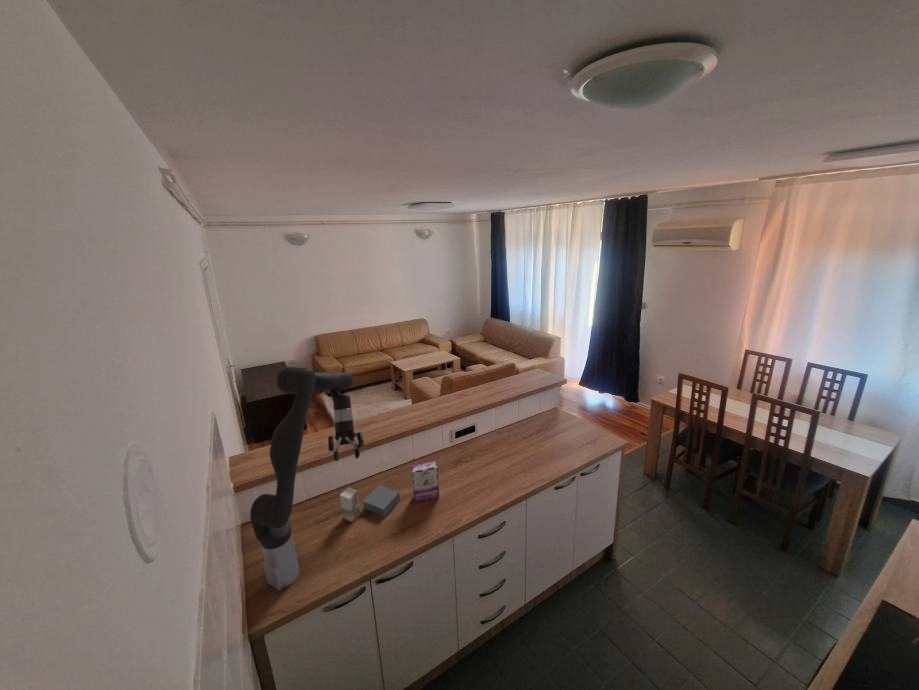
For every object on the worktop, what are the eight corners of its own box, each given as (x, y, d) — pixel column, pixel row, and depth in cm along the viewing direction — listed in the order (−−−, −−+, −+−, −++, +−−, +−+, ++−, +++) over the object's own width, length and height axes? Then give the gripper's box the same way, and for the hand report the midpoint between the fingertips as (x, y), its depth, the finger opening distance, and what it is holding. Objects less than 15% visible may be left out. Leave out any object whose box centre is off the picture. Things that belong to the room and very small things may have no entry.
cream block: (352, 522, 148) (349, 498, 144) (343, 518, 150) (339, 494, 146) (360, 514, 152) (357, 490, 148) (351, 510, 154) (348, 487, 151)
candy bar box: (437, 490, 165) (435, 460, 160) (439, 498, 160) (438, 467, 155) (412, 495, 162) (410, 465, 157) (414, 503, 158) (412, 472, 152)
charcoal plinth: (384, 517, 151) (383, 509, 149) (363, 508, 155) (362, 500, 154) (399, 499, 160) (399, 492, 159) (379, 492, 165) (379, 484, 163)
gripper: (323, 423, 150) (326, 463, 148) (356, 418, 149) (360, 458, 147) (331, 421, 158) (334, 460, 155) (363, 417, 157) (366, 455, 154)
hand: (347, 459), depth 151 cm, fingers open, 8 cm apart
